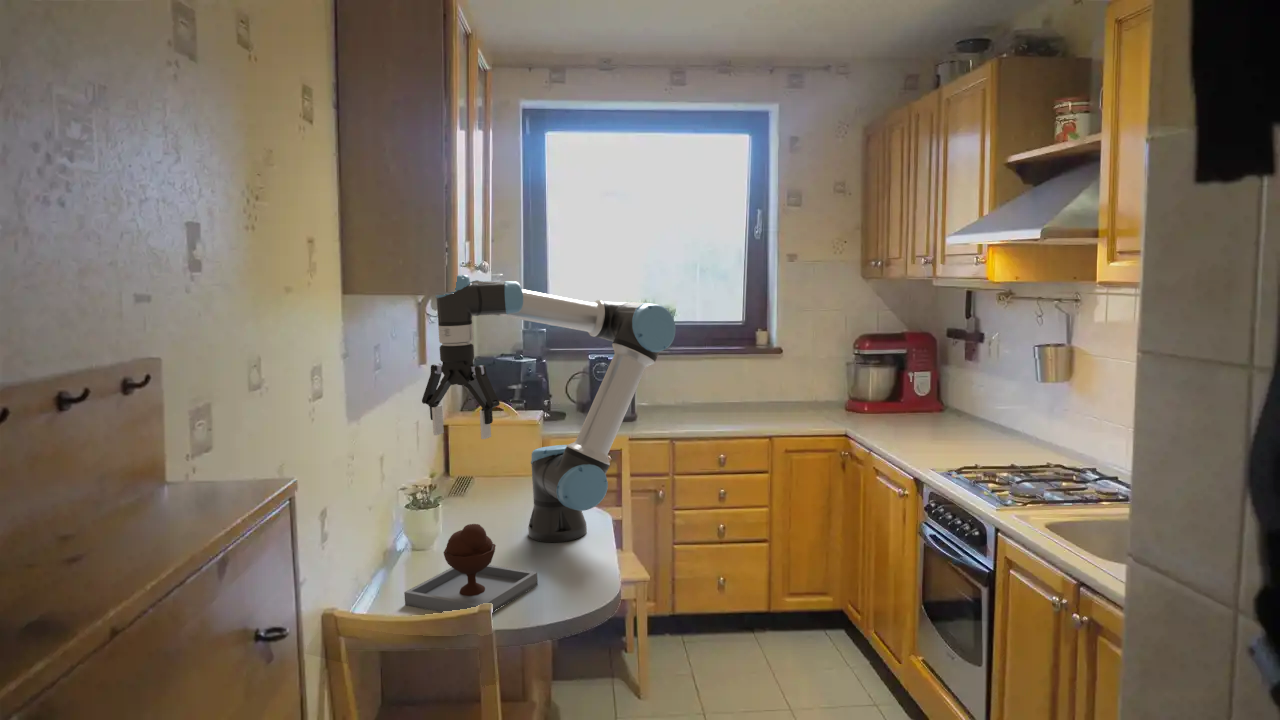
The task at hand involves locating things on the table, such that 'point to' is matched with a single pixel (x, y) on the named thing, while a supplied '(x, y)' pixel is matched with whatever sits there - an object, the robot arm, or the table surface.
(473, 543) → the ice cream bowl
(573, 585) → the table surface
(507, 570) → the tray
